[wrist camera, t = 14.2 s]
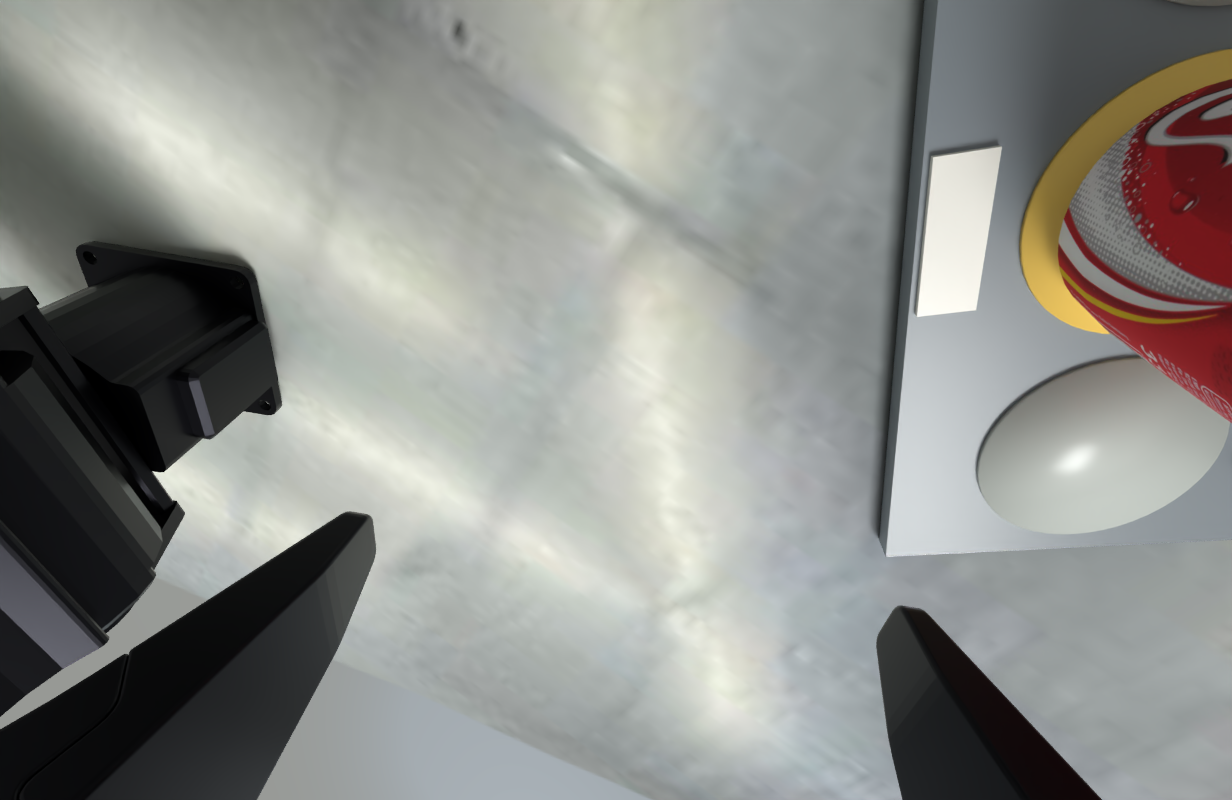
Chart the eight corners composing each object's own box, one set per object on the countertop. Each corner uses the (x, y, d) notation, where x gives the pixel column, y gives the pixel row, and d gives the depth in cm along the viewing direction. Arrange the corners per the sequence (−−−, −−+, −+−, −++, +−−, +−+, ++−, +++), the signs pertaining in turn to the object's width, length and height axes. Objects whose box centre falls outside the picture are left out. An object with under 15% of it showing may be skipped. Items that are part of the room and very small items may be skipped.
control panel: (1241, 520, 24) (1288, 561, 22) (879, 539, 26) (894, 578, 24) (1897, -748, 9) (2191, -934, 8) (962, -452, 12) (1014, -539, 10)
